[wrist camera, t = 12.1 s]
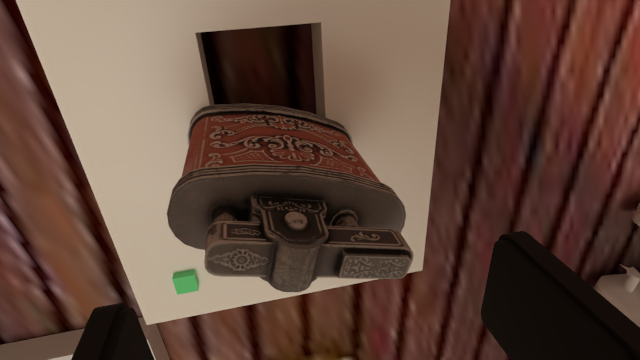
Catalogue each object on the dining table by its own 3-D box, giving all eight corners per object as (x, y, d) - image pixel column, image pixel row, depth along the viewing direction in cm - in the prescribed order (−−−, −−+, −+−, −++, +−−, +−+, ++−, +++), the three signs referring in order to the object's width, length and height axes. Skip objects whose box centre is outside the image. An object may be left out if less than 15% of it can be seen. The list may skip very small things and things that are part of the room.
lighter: (187, 160, 19) (151, 319, 10) (190, 93, 17) (152, 210, 8) (340, 174, 21) (420, 314, 12) (355, 116, 19) (457, 227, 11)
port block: (435, -129, 17) (472, -149, 15) (407, 247, 28) (425, 275, 25) (0, -122, 14) (-51, -143, 12) (153, 295, 25) (145, 331, 22)
